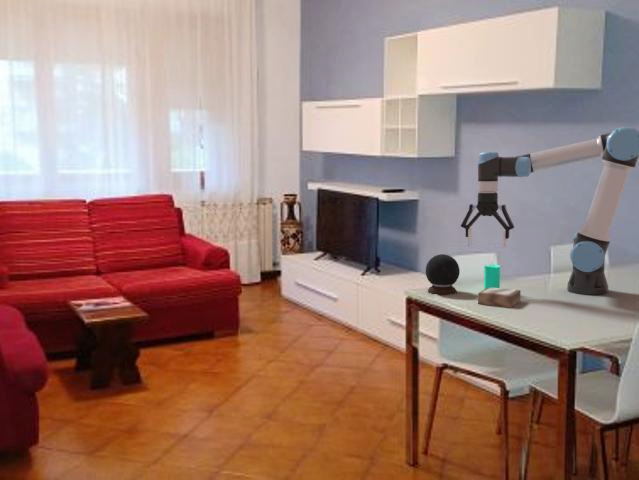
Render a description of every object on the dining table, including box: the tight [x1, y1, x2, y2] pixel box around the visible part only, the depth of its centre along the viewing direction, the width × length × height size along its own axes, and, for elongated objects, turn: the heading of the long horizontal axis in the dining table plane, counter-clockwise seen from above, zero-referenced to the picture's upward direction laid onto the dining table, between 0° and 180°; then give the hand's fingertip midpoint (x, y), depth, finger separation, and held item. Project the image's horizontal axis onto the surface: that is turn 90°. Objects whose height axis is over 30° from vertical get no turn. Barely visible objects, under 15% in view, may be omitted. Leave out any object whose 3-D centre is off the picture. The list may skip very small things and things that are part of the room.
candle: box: [483, 261, 501, 290], centre depth 281 cm, size 6×6×12 cm
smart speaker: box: [425, 253, 460, 296], centre depth 281 cm, size 13×13×15 cm
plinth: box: [477, 287, 521, 309], centre depth 263 cm, size 12×12×4 cm
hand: (486, 246), depth 281 cm, fingers open, 13 cm apart
